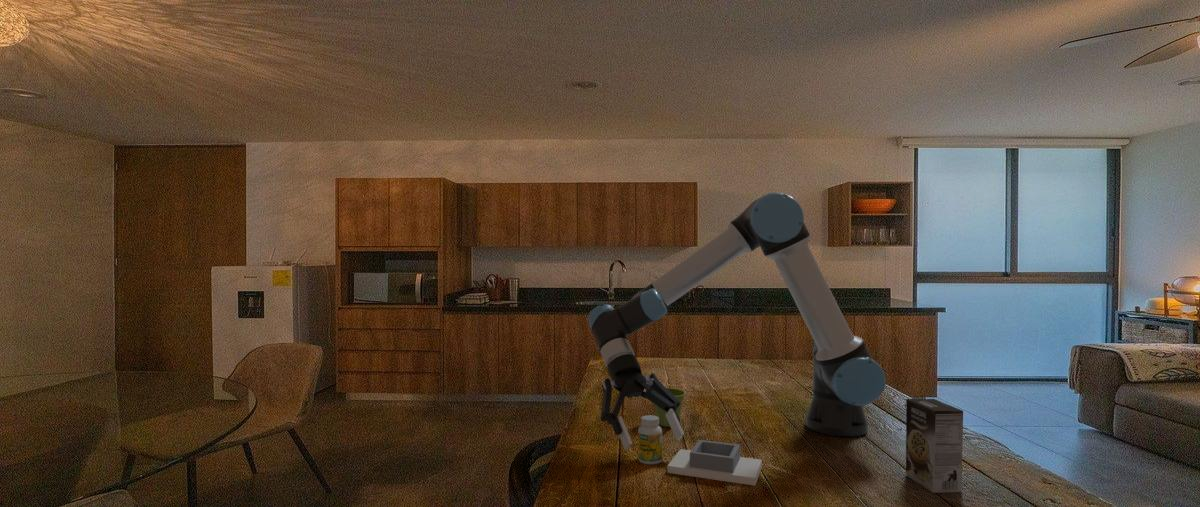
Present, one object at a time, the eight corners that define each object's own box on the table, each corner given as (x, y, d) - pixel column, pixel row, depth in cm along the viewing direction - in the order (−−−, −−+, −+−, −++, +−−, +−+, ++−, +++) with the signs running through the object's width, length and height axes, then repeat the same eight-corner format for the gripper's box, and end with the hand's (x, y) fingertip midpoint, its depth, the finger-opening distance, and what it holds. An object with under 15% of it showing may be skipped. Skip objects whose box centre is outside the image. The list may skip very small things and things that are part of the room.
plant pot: (684, 419, 163) (684, 388, 163) (686, 429, 154) (686, 396, 154) (650, 418, 164) (650, 387, 164) (650, 428, 155) (650, 395, 155)
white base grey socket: (761, 466, 128) (761, 445, 128) (755, 485, 118) (755, 463, 118) (680, 455, 135) (680, 435, 135) (667, 472, 124) (667, 451, 124)
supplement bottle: (664, 457, 133) (664, 415, 133) (659, 466, 128) (659, 422, 128) (641, 455, 135) (641, 413, 135) (635, 463, 130) (635, 419, 130)
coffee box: (904, 475, 123) (904, 398, 123) (933, 474, 124) (934, 397, 124) (932, 493, 114) (932, 410, 114) (963, 492, 115) (964, 409, 115)
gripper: (657, 366, 151) (693, 441, 138) (569, 375, 139) (599, 459, 126) (670, 348, 146) (708, 425, 133) (579, 357, 134) (611, 442, 121)
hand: (655, 442), depth 130 cm, fingers open, 13 cm apart
